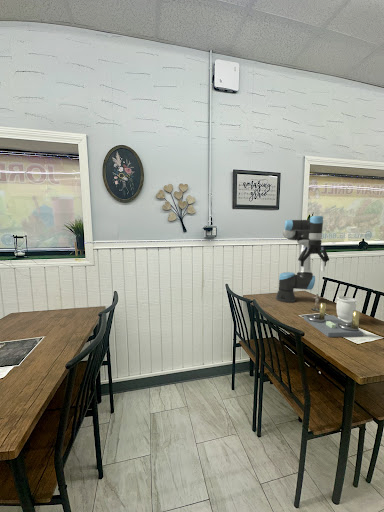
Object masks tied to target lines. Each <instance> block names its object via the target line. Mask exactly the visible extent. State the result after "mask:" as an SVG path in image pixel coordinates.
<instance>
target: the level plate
mask: <svg viewBox="0 0 384 512" xmlns="http://www.w3.org/2000/svg"><path fill="white" fill-rule="evenodd" d="M317 315H318V316H319V314H317ZM337 317H338V316H336V315H334V314H325V321H324V322H314V321H311V320H309V319H307V315H303V320H304V321H305V322H307V323H308V324H310V325H311V326H312V327H314V328H315V329H316V330H318V331H320V333H322V334H324V335H325V336H326V337H328V338H337V337H338V338H339V337H340V338H342V337H345V338H346V337H348V338H349V337H363V331H362V330H360V329H358V330H357V331H349V330H345V329H342V328H340V327H339V326H338V323H339V322H344V321H343V320H341V319H339V318H337Z"/></svg>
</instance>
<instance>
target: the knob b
mask: <svg viewBox="0 0 384 512" xmlns="http://www.w3.org/2000/svg"><path fill="white" fill-rule="evenodd" d="M360 314H361V313H360V311H359V310H357V309H356V310H353V318H352V322H351V323H347V322H339V323H338V326H339V327H340V328H342V329H345V330H349V331H357V330H360V329H359V328H360V327H359V323H360Z"/></svg>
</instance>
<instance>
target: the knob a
mask: <svg viewBox="0 0 384 512" xmlns="http://www.w3.org/2000/svg"><path fill="white" fill-rule="evenodd" d="M326 306H327V303H326V302H320V305H319V309H320V312H319V314H317V315H316V314H308V315H306V316H307V319H309V320H311V321H314V322H324V321H325V315H326V310H327V309H326V308H327V307H326ZM318 315H319V316H318Z"/></svg>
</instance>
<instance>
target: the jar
mask: <svg viewBox="0 0 384 512" xmlns="http://www.w3.org/2000/svg"><path fill="white" fill-rule="evenodd" d="M336 299H337V301H336V307H335V308H336V315H337V316H336V317H337V318H339V319H341V320H343V321H344V322H347V323H351V324H352V318H353V310H356V311H357V309H356V308H357V304H356V303H357V299H356V298H353V297H350V296H343V295H339V296H337V298H336Z"/></svg>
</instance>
